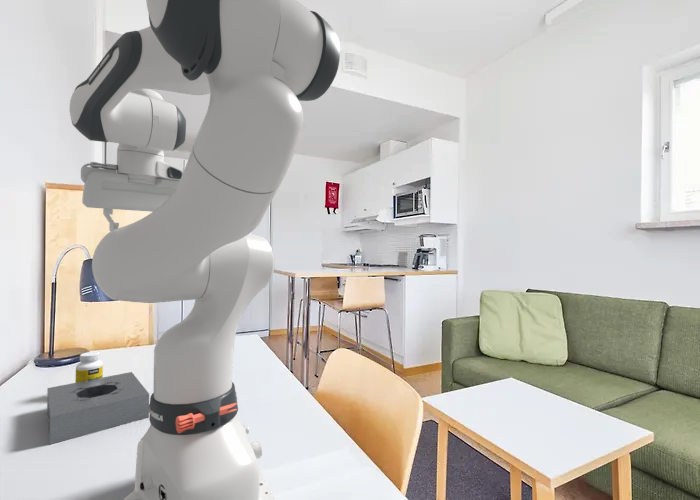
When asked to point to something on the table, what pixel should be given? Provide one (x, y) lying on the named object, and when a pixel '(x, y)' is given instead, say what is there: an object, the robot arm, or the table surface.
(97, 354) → the supplement bottle
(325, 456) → the table surface
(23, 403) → the table surface
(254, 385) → the table surface
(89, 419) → the block
